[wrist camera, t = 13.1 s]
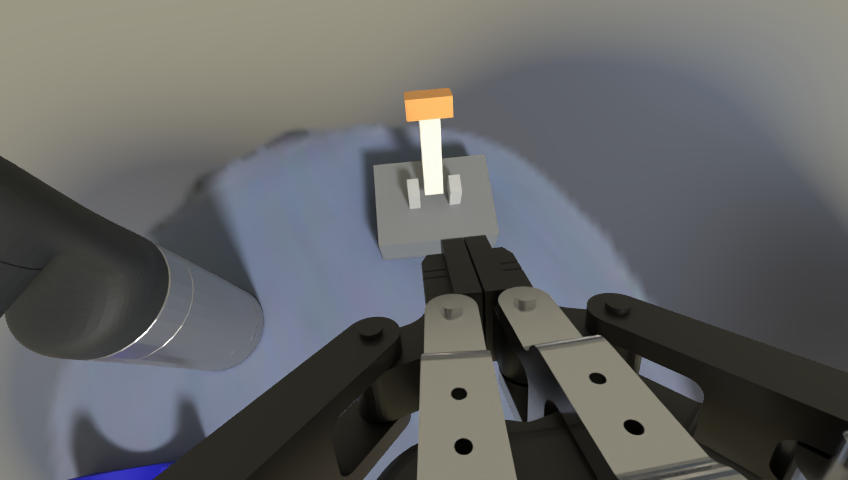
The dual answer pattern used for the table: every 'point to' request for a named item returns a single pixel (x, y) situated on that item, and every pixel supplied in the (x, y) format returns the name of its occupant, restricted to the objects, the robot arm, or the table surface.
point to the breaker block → (432, 206)
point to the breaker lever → (430, 131)
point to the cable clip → (129, 473)
